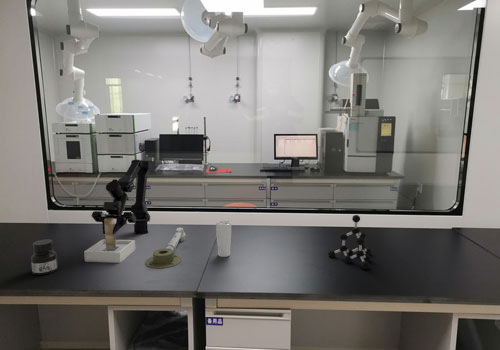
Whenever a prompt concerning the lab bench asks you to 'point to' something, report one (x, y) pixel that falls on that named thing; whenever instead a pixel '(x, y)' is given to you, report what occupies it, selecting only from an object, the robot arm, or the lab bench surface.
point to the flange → (163, 259)
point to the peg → (109, 233)
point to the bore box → (109, 251)
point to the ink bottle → (44, 258)
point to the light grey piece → (176, 239)
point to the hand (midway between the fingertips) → (108, 233)
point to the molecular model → (361, 249)
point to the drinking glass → (223, 237)
